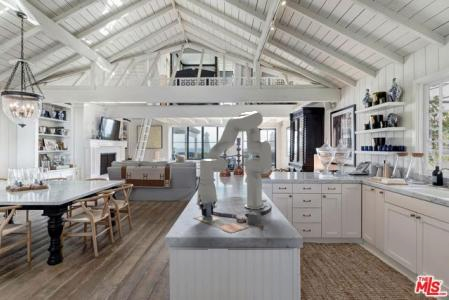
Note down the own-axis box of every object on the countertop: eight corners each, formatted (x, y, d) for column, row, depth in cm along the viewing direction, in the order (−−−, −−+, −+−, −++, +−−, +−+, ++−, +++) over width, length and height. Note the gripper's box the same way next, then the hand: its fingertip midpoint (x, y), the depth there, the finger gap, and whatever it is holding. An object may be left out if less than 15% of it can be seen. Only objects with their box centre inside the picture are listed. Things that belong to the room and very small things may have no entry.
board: (209, 214, 158) (209, 214, 158) (249, 227, 134) (249, 227, 134) (192, 218, 151) (192, 218, 151) (230, 233, 126) (230, 233, 126)
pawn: (208, 216, 154) (208, 197, 153) (214, 218, 150) (214, 198, 149) (200, 218, 150) (200, 198, 150) (206, 220, 146) (206, 200, 146)
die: (252, 220, 146) (251, 211, 145) (260, 222, 143) (260, 212, 143) (248, 223, 141) (247, 213, 141) (257, 224, 139) (256, 214, 138)
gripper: (214, 179, 157) (215, 210, 158) (190, 182, 147) (190, 216, 147) (223, 180, 152) (223, 213, 152) (198, 184, 141) (198, 219, 142)
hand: (207, 214), depth 150 cm, fingers closed on pawn, 4 cm apart
